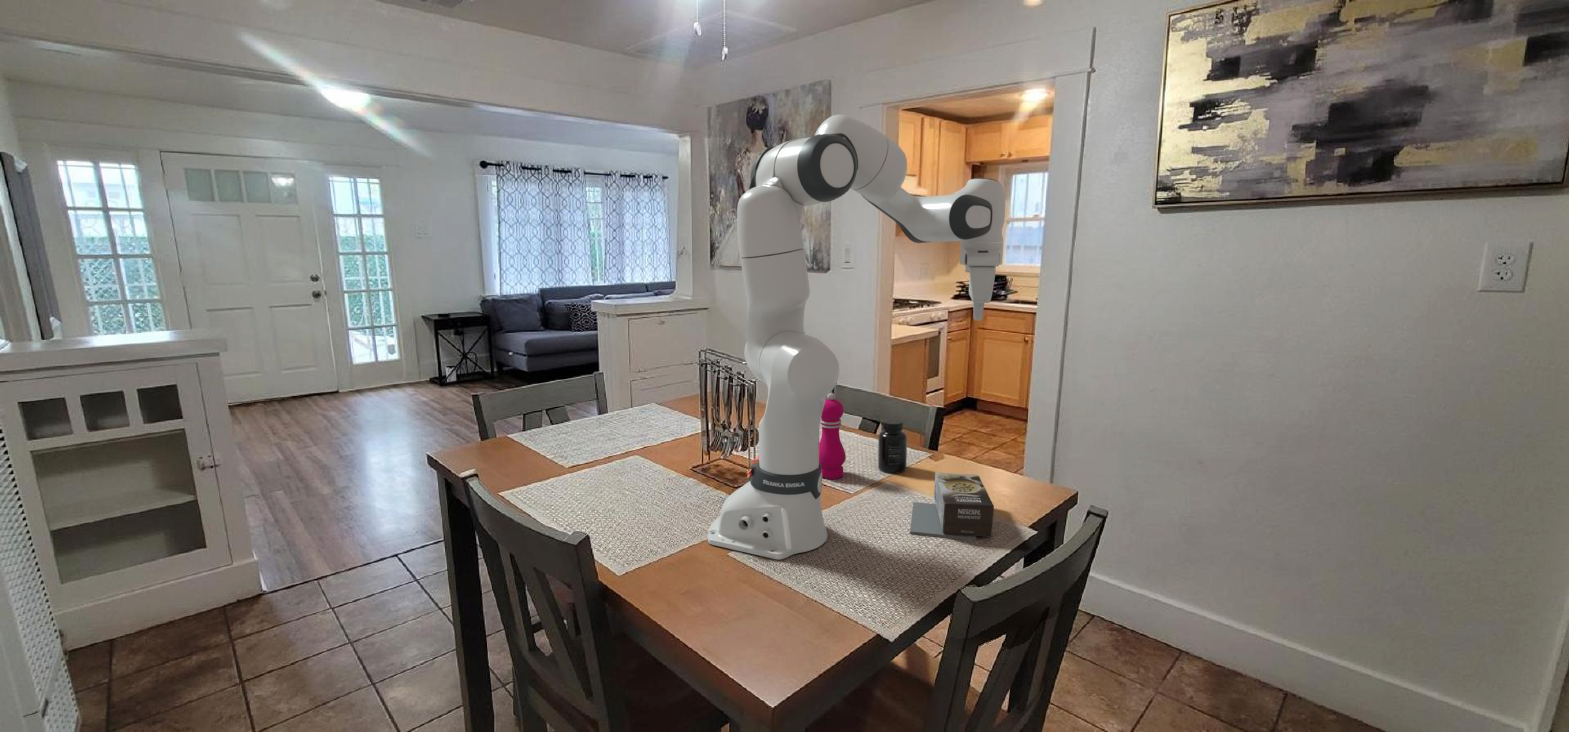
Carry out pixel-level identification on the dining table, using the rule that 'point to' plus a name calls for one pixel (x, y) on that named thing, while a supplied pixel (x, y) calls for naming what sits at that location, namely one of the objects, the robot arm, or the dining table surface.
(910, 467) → the dining table surface
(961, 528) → the coffee box
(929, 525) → the mat
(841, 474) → the pepper mill
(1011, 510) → the dining table surface
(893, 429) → the supplement bottle
